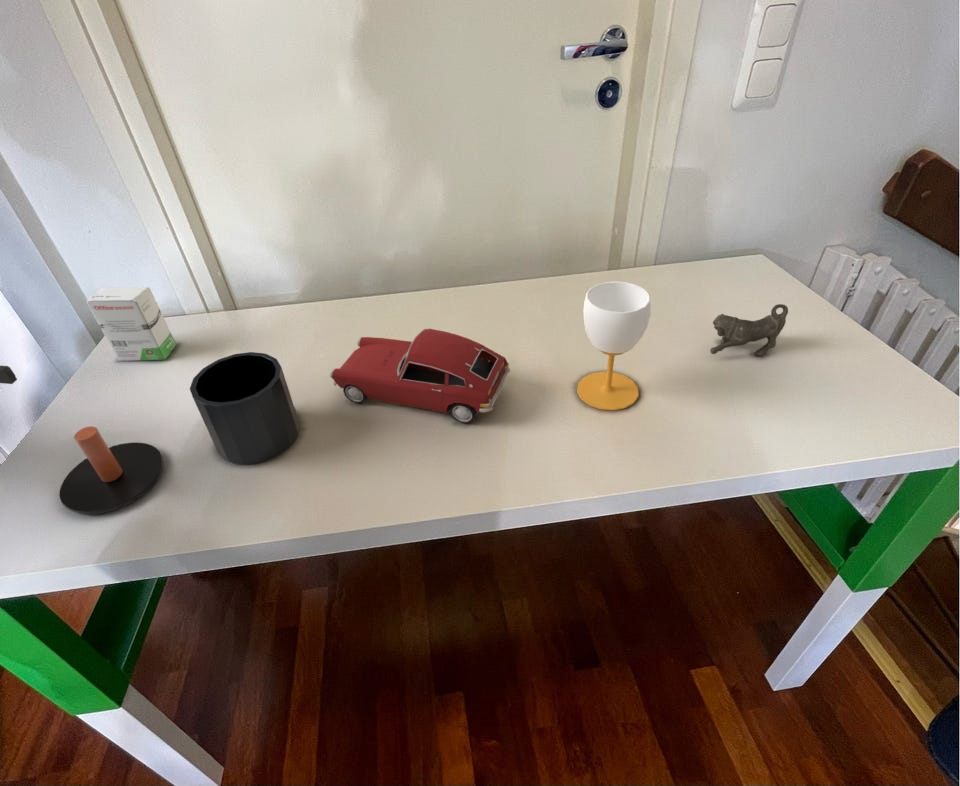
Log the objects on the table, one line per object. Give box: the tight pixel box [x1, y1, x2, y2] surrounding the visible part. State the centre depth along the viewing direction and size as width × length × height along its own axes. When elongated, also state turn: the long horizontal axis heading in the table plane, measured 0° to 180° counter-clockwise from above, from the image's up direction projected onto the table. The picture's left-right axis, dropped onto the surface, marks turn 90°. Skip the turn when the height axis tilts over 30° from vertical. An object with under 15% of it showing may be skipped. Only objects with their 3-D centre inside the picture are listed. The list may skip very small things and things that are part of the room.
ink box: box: [86, 286, 177, 362], centre depth 99 cm, size 9×5×12 cm, turn 86°
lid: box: [59, 425, 164, 515], centre depth 76 cm, size 12×12×9 cm
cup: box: [576, 280, 652, 412], centre depth 83 cm, size 9×9×16 cm
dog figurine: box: [709, 303, 789, 357], centre depth 93 cm, size 12×6×7 cm, turn 95°
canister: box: [189, 351, 300, 466], centre depth 81 cm, size 11×11×10 cm
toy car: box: [329, 328, 511, 425], centre depth 87 cm, size 11×25×10 cm, turn 72°
